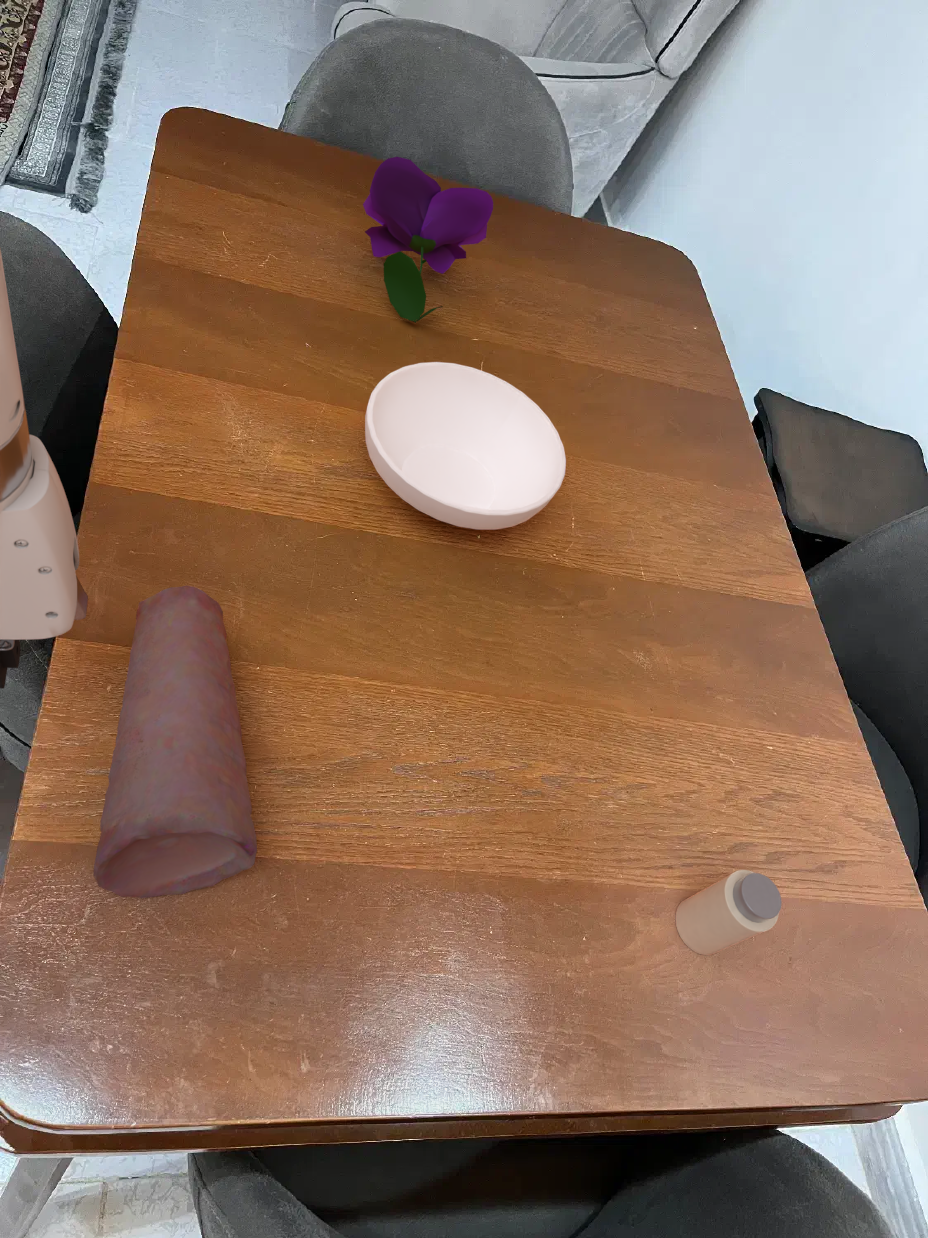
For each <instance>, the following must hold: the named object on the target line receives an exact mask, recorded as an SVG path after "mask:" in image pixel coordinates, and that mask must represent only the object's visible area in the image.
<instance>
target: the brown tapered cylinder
mask: <svg viewBox="0 0 928 1238" xmlns="http://www.w3.org/2000/svg"><path fill="white" fill-rule="evenodd" d="M134 626H135V627H134V633H133V637H132V642H131V649H130V652H129V662H128V667H127V674H126V680H125V682H124V691H123V697H122V706H121V709H120V712H119V717H118V718H119V719H118V725H117V730H116V737H115V747H114V749H113V751H112V757H111V764H110V769H109V772H108V776H107V778H108V786H107V788H106V792H105V795H104V804H103V809H102V814H101V818H100V824H99V827H100V828H99V829H100V835H99V840H98V843H97V847H96V853H95V859H94V863H93V878H94V880H95V881H96V883H97V886H98V888H101V889H104V890H106V891H108V892H111V893H113V894H115V895H117V896H120V897H121V898H137V899H138V898H139V899H145V898H154V897H161V896H166V895H169V896H170V895H184V894H186V893H189V892H191V891H196V890H202V889H205V888H210V887H211V888H212V887H214V886H215V885H216V884H218V883H220V882H221V881H223V880H225V879H229V878H231V877H234V876H235V875H238V874H240V873H241V872H242V871H247V870H250V869H251V868H253V866H254V865H255V862H256V856H257V852H258V843H257V834H256V829H255V826H254V825H255V824H254V822H253V819H252V811H253V807H252V802H251V801H252V800H251V795H250V789H249V783H248V778H247V760H246V755H245V751H244V746H243V741H242V734H243V733H242V731H243V730H242V724H241V719H240V712H239V711H240V710H239V708H238V700H237V693H236V686H235V683H234V677H233V674H232V664H231V663H232V662H231V657H230V650H229V647H228V643H227V637H228V636H227V629H226V626H225V623H224V612H223V609H222V606H221V605H220V604H219V602H218V601H217V600H216V599H214V598H213V597H211V596H210V595H209V594H207V593H206V592H205V591H204V590H202V589H200V588H199V587H196V586H191V585H182V586H171V587H167V588H165V589H162V590H161V591H159V592H157V593H155V594H154V595H152V596H149V597H147V598H145V599H143V600H141V601H140V602H138V607H137V609H136V614H135V625H134Z"/></svg>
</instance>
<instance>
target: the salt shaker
mask: <svg viewBox="0 0 928 1238" xmlns="http://www.w3.org/2000/svg"><path fill="white" fill-rule="evenodd" d="M782 902H783V901H782V896H781V892H780V890H779V889H778V886H777V885H776V884H775V882H773V880H772V879H770V878H769V877H768V876H767V875H764V874H762V873H760V872H759V873H758V872H755V871H752V870H749V869H739V870H735V871H733V872H732V873H730V874H728V875H726V876H724V877H723V878H721V879H719V880H717V881H715V882H714V883H712V884H710V885H708V886H707V887H704V889H701V890H699V891H697V892H695V893H694V894H692V895H689V897H687V898H684V900H682V901H681V902H680V903H679V904H678V906H677V908H676V912H675V919H674V920H675V926H676V931H677V933H678V935H679V937H680V939H681V940H682V941H683V943H684V944H685V945H686V946H687V947H688V949H690V950H691V951H693V952H695V953H696V954H699V955H702V956H713V955H715V954H718V953H720V952H722V951H724V950H727V949H730V948H731V947H733V946H737V945H738V944H740V943H743V942H744V941H745V942H746V941H747V940H749V939H752V938H754V937H756V936H759V935H761V934H764V933H766V932H769V931H770V930H771V929H773V927H775V925H776V923H777V922H778V919H779V916H780V915H779V914H780V911H781V909H782Z"/></svg>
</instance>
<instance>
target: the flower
mask: <svg viewBox="0 0 928 1238" xmlns="http://www.w3.org/2000/svg"><path fill="white" fill-rule="evenodd" d="M362 206H363V209H364V213H365V214H366V215H367V216H369V217H370V218H372V219H373V220H374V221H376V222H377V223H378V224H380V225H378V226H371V227H369V228H368V229H366V230H364V233H365V234H366V235H367V236H368V237H369V238H370V239H369V240H370V245H371V250H372V255H373V257H376V258H384V257H386V258H385V261H384V262H383V282H384V285H385V289H386V292H387V296H388V299H389V303H390V304H391V306H392V307H393V308H394V310H395V311H396V313H397V314H398V316H399V317H400V318H402V319H405V320H408V321H410V322H413V323H414V324H417V322H419V321H421V320H422V319H424V318H425V317H426V316H427V315H430V314H431V313H432V312H435V310H437V309H441V308H443V306H442V305H440V306H437V307H432V308H431V309H428V310H427V311H426V312H425V307H426V303H427V302H426V301H427V293H426V289H425V285H424V281H423V278H422V270H423V266H424V264H425V263H427V265H428V266H429V268H431V269H432V270H433V271H435V272H437V273H440V274H441V275H443V274H445V273H446V272H447V271H448V270H449V269H450V268H451V266H452V265H453V264H454V262H455V261H456V260H463V259H467V251H466V250H465V249H464V248H463V246H465V245H467V246H468V245H476V244H479V243H482V241H483V240H485V239H486V238H487V231H488V223H489V221H490V218H491V216H492V213H493V210H494V200H493V197H492V196H491V194H489V193H488V191H485V190H483V189H479V188H476V187H449V188H447V189H444V190H442V187H441V185H439V183H438V182H437V180H436V179H434V178H433V177H430V176H429V175H428V174H426V173H425V172H424V171H423V170H422V169H421V168H420V167H419V166H417V164H416V163H415V162H413V161H412V160H411V159H409V158H405V157H400V156H394V157H389V158H386V159H385V160H383V162H381V163H380V164H379V166H378V167H377V169H376V170H375V172H374V175H373V178H372V181H371V184H370V188H369V195H368V196H367V197H366V199H365V200H364V202H363V203H362ZM404 252H413V253H415V254H417V255H419V256H420V266H419V267H418V266H417V264H416V262H415V261H414V259H413V258H412V257H410V256H409V255H408V254H406V253H404Z"/></svg>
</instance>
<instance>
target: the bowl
mask: <svg viewBox="0 0 928 1238" xmlns="http://www.w3.org/2000/svg"><path fill="white" fill-rule="evenodd" d="M364 419H365V420H364V435H365V445H366V449H367V452H368V457H369V459H370V461H371V463H372V464H373V467H374V469H375V470H376V473H377V474H378V475H379V476H380V478H381V479H382V480H383V481H384V483H385V485H387V487H389V489H391V491H392V492H394V493H395V494H396V495H397V496H398V497H400V499H401V500H403V501H405V503H408V504H409V505H410V506H412V507H413V508H414V509H416V510H417V511H419V512H421V513H423V514H426V515H427V516H429V517H431V518H433V519H436V520H437V521H441V522H443V523H446V524H449V525H452V526H456V527H460V528H466V529H472V530H486V531H487V530H489V531H490V530H493V531H495V530H502V529H507V528H512V527H515V526H517V525H519V524H523V523H525V522H527V521H528V520H530V519H531V518H533V517H534V516H535V515H537V514H538V513H540V512H541V511H542V510H543V509H544V508H545V507H546V506H548V504H549V502H551V500H552V499H553V498H554V496H555V495H556V494H557V492H558V491H559V490H560V488H561V486H562V483H563V480H564V479H565V476H566V468H567V457H566V453H565V452H566V451H565V446H564V444H563V442H562V439H561V437H560V434H559V432H558V430H557V428H556V427H555V426H554V424H553V422H552V421H551V419H550V417H548V415H547V414H546V413H545V412H544V411H543V409H542V408H540V406H539V405H538V404H537V402H535V401H533V400H532V398H530V396H528V395H527V394H526V393H524V392H523V391H521V390H520V389H518V388H517V387H515V386H514V385H513V384H510V383H509V382H508V381H505V380H504V379H502V378H500V377H498V376H495V375H494V374H493V373H492V374H491V373H489V372H486V371H483V370H481V369H479V368H475V367H471V366H467V365H463V364H459V363H455V362H443V361H442V362H441V361H429V362H418V363H414V364H409V365H405V366H402V367H400V368H398V369H396V370H394V371H392V372H390V373H389V374H387V375H386V376H384V377H383V378H382V379H381V380H380V381H379V382H378V383H377V385H376V386H375V387H374V388H373V390H372V392H371V393H370V395H369V399H368V403H367V406H366V410H365V416H364Z"/></svg>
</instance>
